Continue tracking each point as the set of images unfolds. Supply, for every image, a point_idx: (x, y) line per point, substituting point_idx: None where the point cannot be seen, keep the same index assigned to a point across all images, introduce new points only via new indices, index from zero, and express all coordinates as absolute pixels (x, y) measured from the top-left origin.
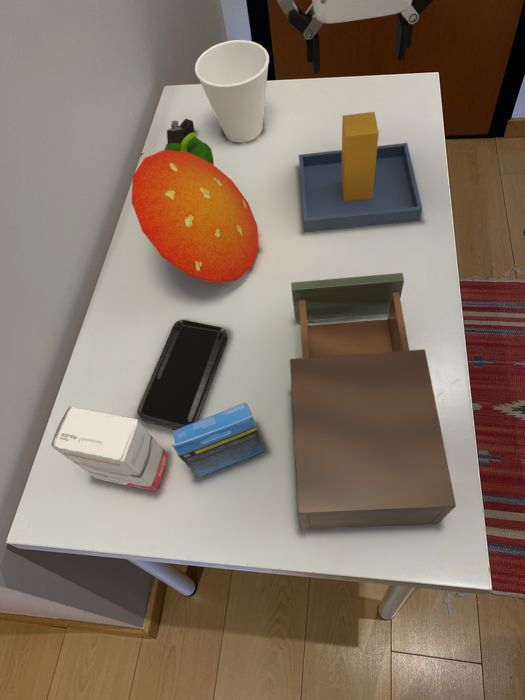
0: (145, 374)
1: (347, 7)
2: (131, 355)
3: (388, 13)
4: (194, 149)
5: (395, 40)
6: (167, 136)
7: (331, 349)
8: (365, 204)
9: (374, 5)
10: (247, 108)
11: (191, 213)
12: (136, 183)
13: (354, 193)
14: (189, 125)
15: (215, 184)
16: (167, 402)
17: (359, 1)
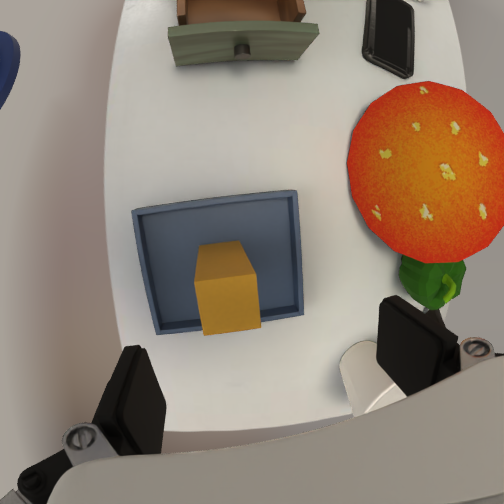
0: (417, 41)
1: (457, 436)
2: (432, 61)
3: (170, 456)
4: (439, 286)
5: (158, 409)
6: (443, 323)
7: (255, 11)
8: (208, 235)
9: (281, 495)
10: (375, 365)
11: (456, 136)
12: None
13: (225, 244)
14: None
15: (433, 199)
16: (395, 7)
17: (408, 489)
